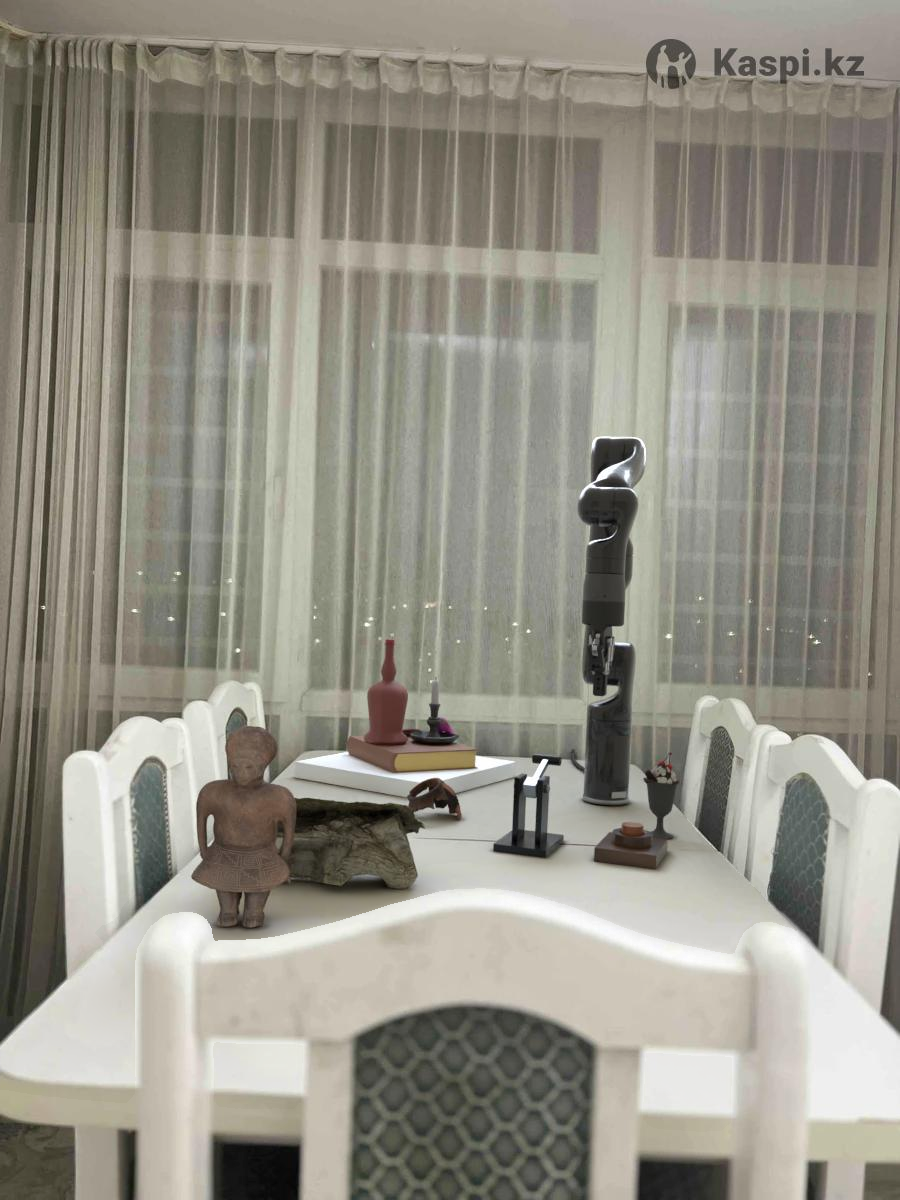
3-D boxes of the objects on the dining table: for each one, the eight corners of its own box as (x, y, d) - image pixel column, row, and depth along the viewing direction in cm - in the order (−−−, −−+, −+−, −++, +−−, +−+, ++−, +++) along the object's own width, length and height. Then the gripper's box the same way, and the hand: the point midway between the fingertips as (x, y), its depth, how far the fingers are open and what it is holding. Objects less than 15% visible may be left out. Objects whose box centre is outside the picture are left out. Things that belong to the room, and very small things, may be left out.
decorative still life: (522, 774, 245) (528, 642, 244) (427, 801, 211) (433, 648, 210) (399, 755, 263) (405, 633, 263) (294, 777, 230) (300, 636, 229)
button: (623, 831, 176) (623, 820, 176) (644, 833, 175) (645, 823, 175) (619, 835, 173) (619, 825, 173) (641, 838, 172) (641, 827, 172)
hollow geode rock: (230, 910, 152) (214, 855, 141) (243, 834, 161) (229, 776, 150) (423, 912, 152) (422, 857, 141) (425, 836, 161) (425, 778, 150)
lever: (534, 762, 189) (534, 750, 188) (561, 764, 187) (561, 752, 186) (515, 796, 178) (514, 783, 177) (544, 799, 176) (543, 786, 175)
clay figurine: (180, 933, 128) (187, 729, 127) (199, 908, 138) (206, 718, 137) (286, 938, 128) (294, 733, 127) (298, 912, 138) (305, 722, 137)
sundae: (680, 834, 191) (683, 752, 191) (675, 842, 185) (679, 757, 185) (643, 829, 194) (647, 748, 193) (638, 837, 187) (641, 754, 187)
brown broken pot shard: (464, 826, 192) (444, 788, 190) (418, 845, 194) (398, 807, 192) (468, 797, 204) (449, 761, 202) (424, 814, 205) (405, 779, 204)
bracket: (513, 835, 185) (516, 768, 185) (563, 841, 182) (566, 774, 182) (493, 850, 174) (496, 779, 174) (545, 857, 171) (548, 785, 171)
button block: (608, 844, 181) (609, 821, 181) (667, 852, 178) (668, 828, 178) (593, 861, 170) (594, 836, 170) (655, 869, 167) (657, 844, 167)
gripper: (617, 600, 180) (613, 700, 180) (631, 599, 193) (627, 694, 193) (574, 598, 183) (570, 697, 183) (591, 598, 195) (587, 691, 195)
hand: (599, 695), depth 188 cm, fingers closed
